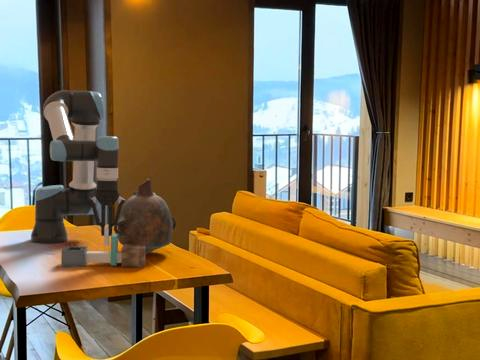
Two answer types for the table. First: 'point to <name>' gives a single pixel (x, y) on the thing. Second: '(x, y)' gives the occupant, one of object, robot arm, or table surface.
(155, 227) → the jug
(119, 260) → the bolt
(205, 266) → the table surface
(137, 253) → the socket
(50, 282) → the table surface
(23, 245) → the table surface
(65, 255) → the sleeve
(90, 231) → the table surface
